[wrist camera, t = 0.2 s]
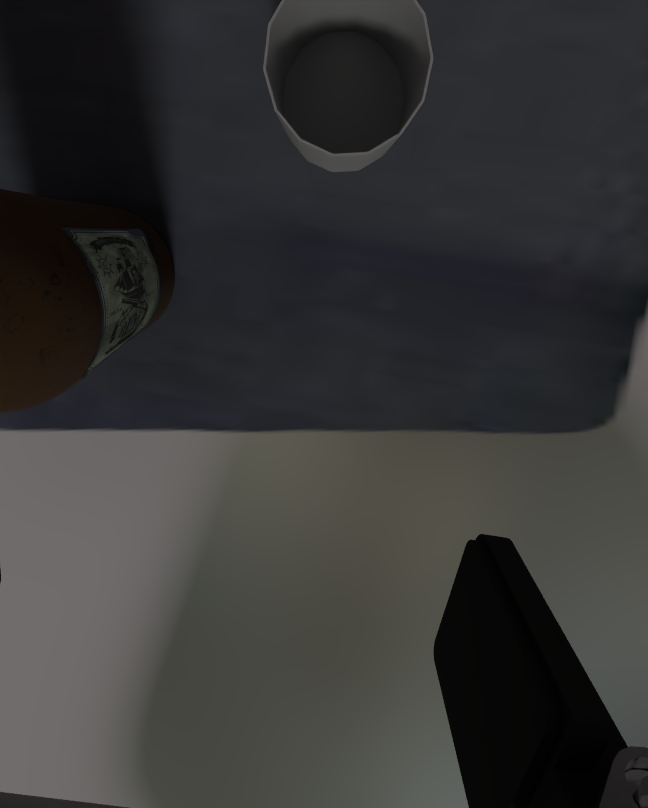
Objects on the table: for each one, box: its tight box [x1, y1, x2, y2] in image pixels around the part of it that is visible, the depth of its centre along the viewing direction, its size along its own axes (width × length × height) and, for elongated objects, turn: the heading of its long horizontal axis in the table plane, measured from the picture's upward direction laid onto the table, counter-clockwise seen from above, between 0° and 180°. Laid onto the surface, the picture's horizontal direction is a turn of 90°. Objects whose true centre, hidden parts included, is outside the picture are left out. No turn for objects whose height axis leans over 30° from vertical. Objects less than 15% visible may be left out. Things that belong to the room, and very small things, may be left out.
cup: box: [263, 0, 433, 172], centre depth 30 cm, size 8×8×10 cm
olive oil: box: [0, 189, 174, 413], centre depth 27 cm, size 11×11×25 cm
